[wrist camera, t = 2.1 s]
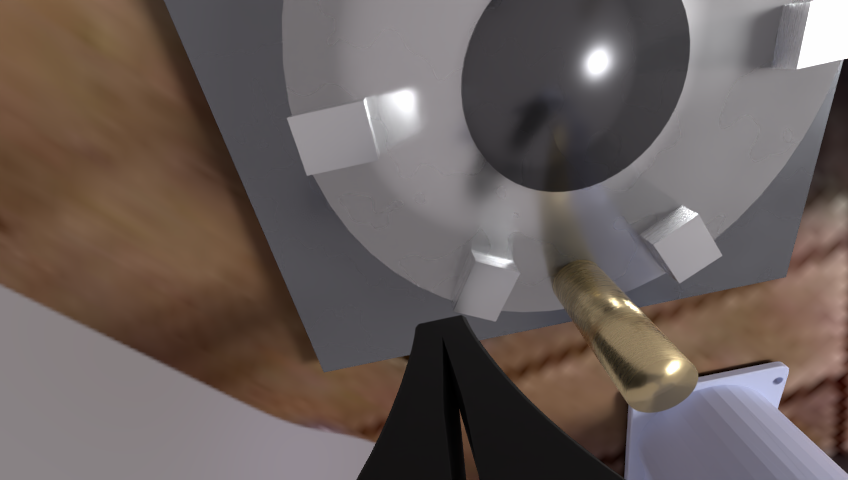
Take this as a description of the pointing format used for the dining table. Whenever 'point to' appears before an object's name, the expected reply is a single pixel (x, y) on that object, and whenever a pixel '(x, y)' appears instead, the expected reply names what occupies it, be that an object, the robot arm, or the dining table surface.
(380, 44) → the tabbed hub disc
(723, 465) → the robot arm
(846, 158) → the dining table surface
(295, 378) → the dining table surface
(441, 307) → the base plate
